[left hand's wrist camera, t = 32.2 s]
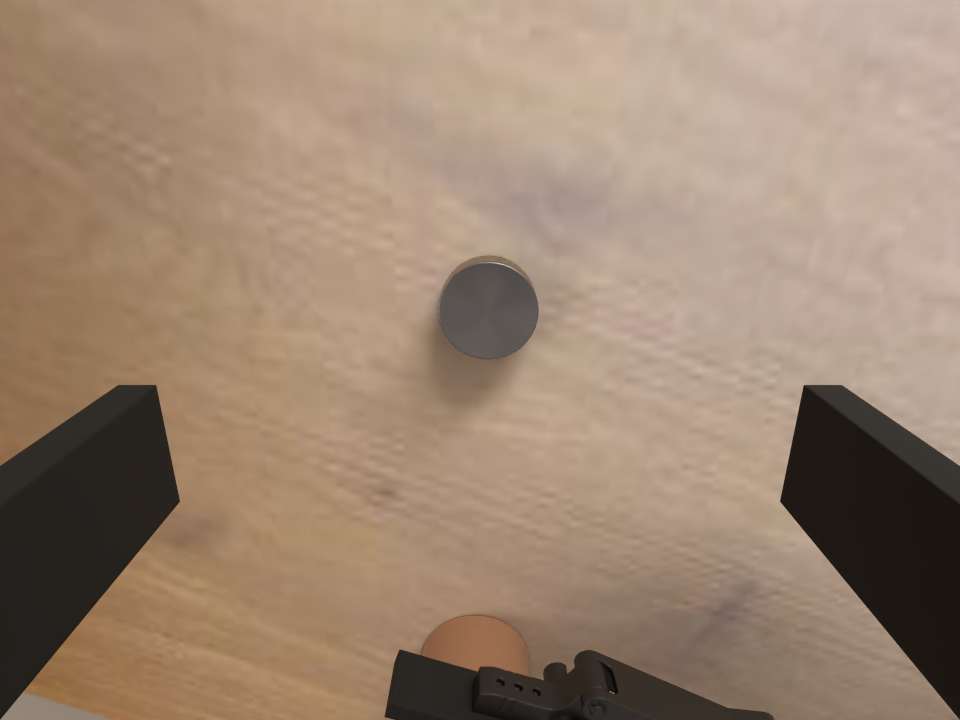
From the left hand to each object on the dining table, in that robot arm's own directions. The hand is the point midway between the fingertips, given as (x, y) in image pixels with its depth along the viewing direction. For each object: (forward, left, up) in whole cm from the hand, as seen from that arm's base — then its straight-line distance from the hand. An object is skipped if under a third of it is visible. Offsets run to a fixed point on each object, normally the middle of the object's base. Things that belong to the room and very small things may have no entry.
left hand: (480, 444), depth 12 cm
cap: (0, 0, -13) cm, 13 cm away
